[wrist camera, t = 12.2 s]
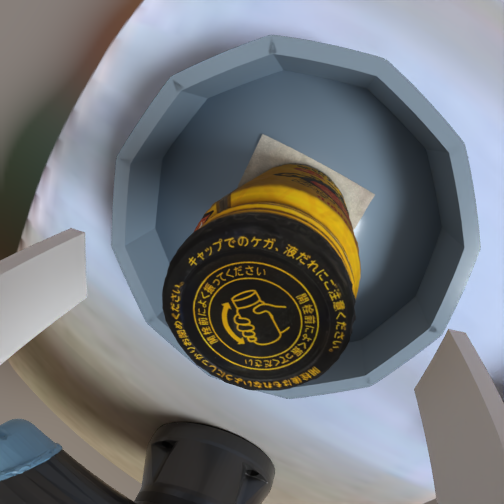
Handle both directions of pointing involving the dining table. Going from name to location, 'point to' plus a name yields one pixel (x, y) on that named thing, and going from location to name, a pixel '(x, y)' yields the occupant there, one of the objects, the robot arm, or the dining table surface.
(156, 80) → the dining table surface
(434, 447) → the robot arm
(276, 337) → the condiment
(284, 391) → the bowl
